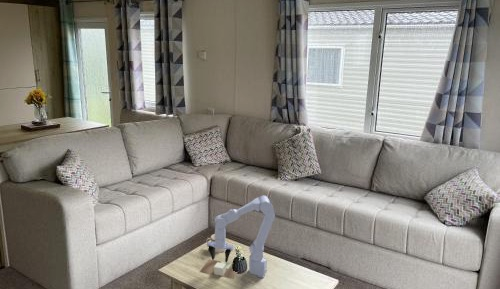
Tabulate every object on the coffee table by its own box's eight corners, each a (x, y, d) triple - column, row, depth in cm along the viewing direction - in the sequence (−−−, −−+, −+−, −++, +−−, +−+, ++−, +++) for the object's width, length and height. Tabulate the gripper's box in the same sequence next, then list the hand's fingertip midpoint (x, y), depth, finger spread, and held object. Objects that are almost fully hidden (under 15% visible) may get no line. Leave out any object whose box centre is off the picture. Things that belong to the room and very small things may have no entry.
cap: (225, 271, 221) (225, 263, 220) (222, 275, 216) (222, 268, 215) (217, 269, 222) (217, 262, 221) (214, 274, 218) (214, 266, 216)
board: (241, 266, 227) (241, 260, 226) (233, 280, 214) (233, 273, 213) (209, 260, 233) (209, 254, 232) (199, 273, 220) (199, 267, 219)
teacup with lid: (227, 248, 248) (227, 230, 245) (222, 255, 239) (222, 237, 236) (209, 245, 251) (209, 228, 248) (203, 252, 242) (203, 234, 239)
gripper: (235, 236, 216) (235, 258, 219) (210, 232, 220) (210, 254, 223) (231, 242, 209) (230, 265, 212) (205, 237, 213) (205, 260, 216)
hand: (219, 260), depth 217 cm, fingers open, 7 cm apart
